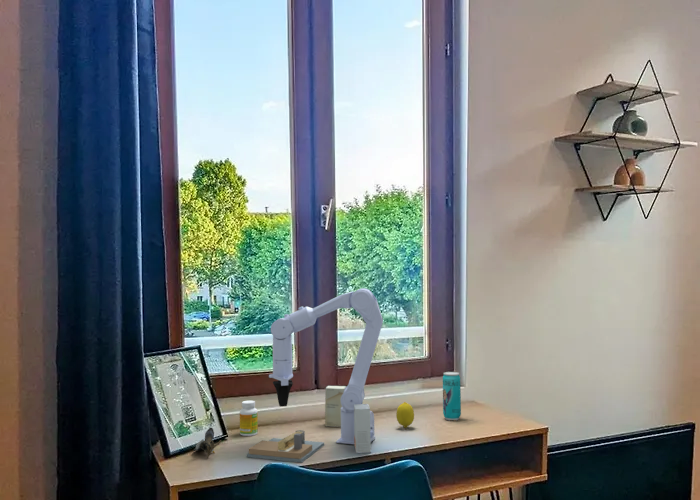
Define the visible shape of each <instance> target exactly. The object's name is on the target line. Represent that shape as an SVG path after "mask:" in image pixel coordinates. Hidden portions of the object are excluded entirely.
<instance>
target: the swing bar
mask: <svg viewBox="0 0 700 500" xmlns="http://www.w3.org/2000/svg"><path fill="white" fill-rule="evenodd" d="M296 433H299V434H302V444H305V441H306V440H305V439H306V433H305V430H304V429H303V430H301V429H300V430H295V431H294V432H293V433H291V434H290V435H287V436H286V437H284V438H281V439H282V440H280V441H279V442H278V450H286V449H288V448H289V447H291V446H293V445H294V435H295V434H296Z"/></svg>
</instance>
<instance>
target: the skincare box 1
mask: <svg viewBox="0 0 700 500" xmlns="http://www.w3.org/2000/svg"><path fill="white" fill-rule="evenodd" d="M346 387H347V386H346V385H327V386H326V387H325V396H324V397H325V401H324V403H325V405H324V409H325V412H324V414H325V415H324V422H325V423H324V425H325V427H332V428H333V427H335V428H341V407H342V405H341V396H342V394H343V393H344V390H345V388H346Z"/></svg>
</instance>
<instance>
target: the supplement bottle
mask: <svg viewBox="0 0 700 500" xmlns="http://www.w3.org/2000/svg"><path fill="white" fill-rule="evenodd" d="M241 407H242V408H241V409H240V410H239V434H240V435H241V436H243V437H250V436H251V437H252V436H255V435H258V428H259V427H258V423H259V422H258V421H259V419H258V413H259V411H258V409H257V408H256V401H255V400H244V401H242V402H241Z"/></svg>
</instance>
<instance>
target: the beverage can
mask: <svg viewBox="0 0 700 500" xmlns="http://www.w3.org/2000/svg"><path fill="white" fill-rule="evenodd" d="M461 390H462V389H461V377H460V372H456V371H446V372H445V371H444V372H443V376H442V414H443V417H444V419H445V420H447V421H450V420H456V421H460V419H461V415H462V402H461V401H462V399H461V397H462V395H461V393H462V392H461Z"/></svg>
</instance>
